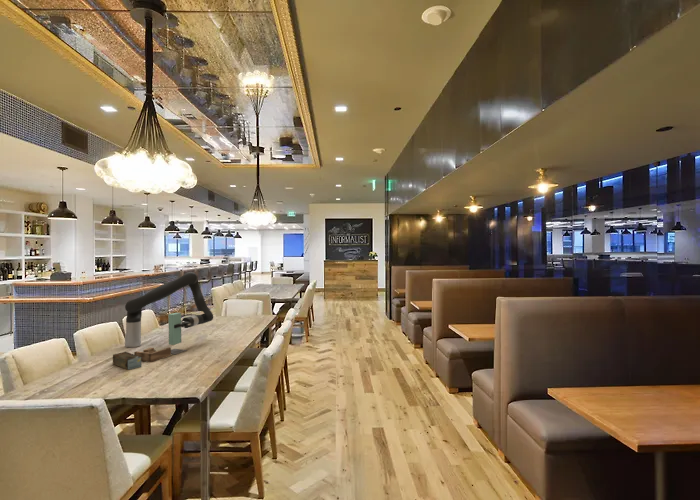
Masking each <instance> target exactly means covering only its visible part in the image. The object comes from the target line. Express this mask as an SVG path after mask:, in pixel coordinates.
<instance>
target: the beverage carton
mask: <svg viewBox="0 0 700 500" xmlns="http://www.w3.org/2000/svg"><path fill="white" fill-rule="evenodd" d="M112 364H113V365H115V366H117V367H120V368H122V369H125V370H128V371H129V370H134V369H137V368H140V367H142V361H141V357H139V356H137V355H134V353H130V352H128V351H123V352H119V353H115V354H112Z"/></svg>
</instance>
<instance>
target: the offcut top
mask: <svg viewBox="0 0 700 500" xmlns="http://www.w3.org/2000/svg"><path fill="white" fill-rule="evenodd" d="M154 350H155V348H154V347H148V348H147V347H146V348H144V349H143V351H142V352H147V353H152V352H154Z"/></svg>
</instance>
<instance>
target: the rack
mask: <svg viewBox="0 0 700 500" xmlns="http://www.w3.org/2000/svg"><path fill="white" fill-rule="evenodd" d="M171 350H172V347H167V348H163V349H160V350H156V349H154V352H153V353H147V352H143V351H134V352H133V354H134V355H137V356H139V357H141V362H146V361H147V362H146V363H153V362H156V361H158V360H161V359H165V358H167V357H171V356H172V354H171Z"/></svg>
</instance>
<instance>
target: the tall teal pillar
mask: <svg viewBox="0 0 700 500" xmlns="http://www.w3.org/2000/svg"><path fill="white" fill-rule="evenodd" d="M181 321H182V312H174V313H168V346H175V345H179V344H181V343H182V327H178V328H174V325H176V324H180V323H181Z"/></svg>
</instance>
